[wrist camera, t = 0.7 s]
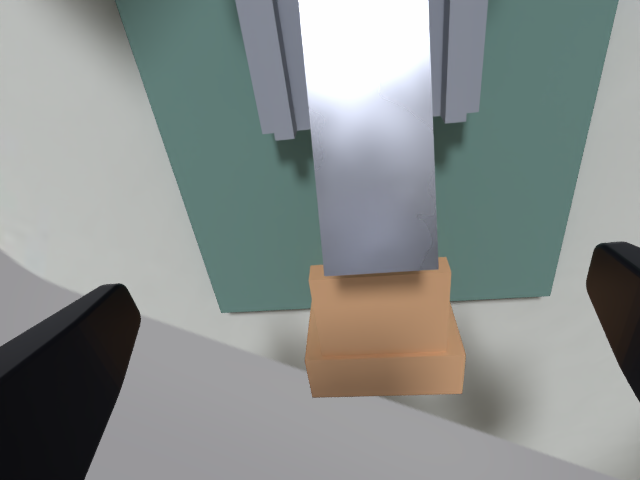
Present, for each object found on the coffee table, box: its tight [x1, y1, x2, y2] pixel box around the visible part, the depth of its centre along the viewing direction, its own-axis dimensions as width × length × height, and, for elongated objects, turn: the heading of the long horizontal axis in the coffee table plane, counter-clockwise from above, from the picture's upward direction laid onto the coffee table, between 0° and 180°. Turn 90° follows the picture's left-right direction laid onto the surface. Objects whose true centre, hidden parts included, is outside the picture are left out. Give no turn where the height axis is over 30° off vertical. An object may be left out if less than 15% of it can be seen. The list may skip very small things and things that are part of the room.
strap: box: [299, 0, 439, 276], centre depth 10 cm, size 3×13×1 cm, turn 7°
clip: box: [305, 257, 466, 398], centre depth 19 cm, size 6×6×6 cm
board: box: [115, 0, 619, 313], centre depth 15 cm, size 18×23×6 cm
